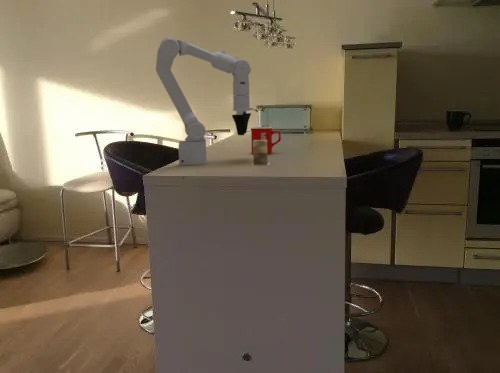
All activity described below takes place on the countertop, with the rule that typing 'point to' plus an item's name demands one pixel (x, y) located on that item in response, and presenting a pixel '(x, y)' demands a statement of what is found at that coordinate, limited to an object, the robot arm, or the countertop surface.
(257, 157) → the walnut block
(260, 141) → the beech block
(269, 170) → the countertop surface
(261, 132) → the mug
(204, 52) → the robot arm
